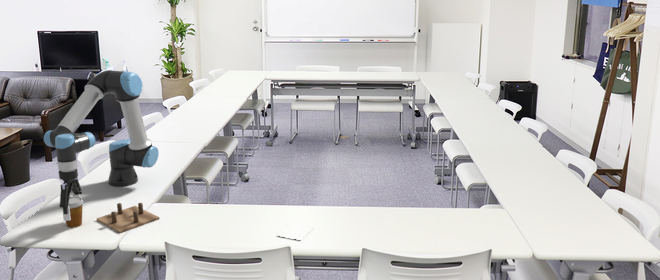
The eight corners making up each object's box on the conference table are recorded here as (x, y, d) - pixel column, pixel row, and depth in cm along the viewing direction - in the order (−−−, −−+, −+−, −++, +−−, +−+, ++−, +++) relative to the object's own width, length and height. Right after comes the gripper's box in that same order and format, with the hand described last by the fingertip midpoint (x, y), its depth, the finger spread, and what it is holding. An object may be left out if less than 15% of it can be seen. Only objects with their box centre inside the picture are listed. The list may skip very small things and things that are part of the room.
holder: (135, 207, 268) (134, 196, 266) (159, 219, 256) (158, 207, 254) (96, 220, 253) (95, 208, 251) (120, 233, 241) (118, 220, 239)
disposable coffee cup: (78, 218, 255) (75, 194, 251) (90, 224, 249) (87, 199, 246) (58, 225, 247) (55, 200, 244) (70, 231, 242) (67, 206, 239)
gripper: (69, 160, 252) (73, 203, 258) (47, 179, 228) (53, 225, 234) (86, 160, 253) (90, 203, 259) (66, 178, 229) (71, 225, 235)
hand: (72, 214), depth 246 cm, fingers open, 13 cm apart
